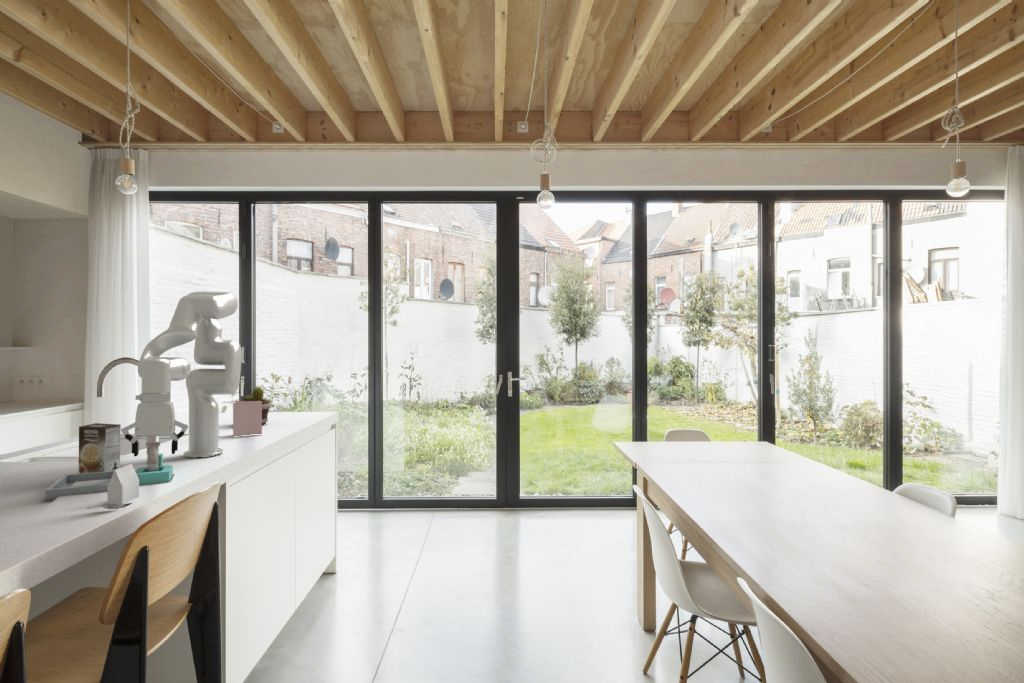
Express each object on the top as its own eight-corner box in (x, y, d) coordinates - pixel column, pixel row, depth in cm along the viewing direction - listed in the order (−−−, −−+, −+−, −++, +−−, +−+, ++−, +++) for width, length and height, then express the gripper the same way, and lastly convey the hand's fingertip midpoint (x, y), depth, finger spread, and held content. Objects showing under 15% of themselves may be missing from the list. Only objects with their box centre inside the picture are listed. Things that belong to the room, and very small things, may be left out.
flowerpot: (232, 424, 266) (233, 383, 266) (265, 421, 277) (265, 382, 276) (242, 428, 256) (242, 385, 255) (276, 425, 266) (276, 384, 266)
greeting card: (262, 434, 241) (262, 400, 241) (255, 437, 234) (255, 402, 234) (236, 434, 241) (236, 400, 241) (228, 437, 234) (228, 402, 233)
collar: (139, 474, 168) (139, 455, 168) (174, 471, 172) (174, 452, 172) (132, 485, 157) (132, 464, 157) (168, 481, 161) (169, 461, 161)
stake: (135, 481, 165) (135, 440, 165) (174, 477, 169) (174, 438, 169) (129, 490, 156) (129, 446, 156) (170, 486, 160) (170, 444, 160)
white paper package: (138, 501, 147) (139, 463, 146) (122, 509, 140) (122, 470, 140) (124, 501, 146) (124, 463, 146) (107, 509, 140) (107, 470, 139)
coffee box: (76, 478, 167) (76, 426, 167) (94, 473, 174) (94, 422, 174) (104, 479, 166) (104, 427, 166) (121, 474, 173) (121, 423, 173)
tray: (64, 485, 160) (64, 474, 160) (122, 480, 166) (122, 470, 166) (45, 501, 145) (45, 490, 145) (109, 495, 151) (109, 484, 151)
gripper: (119, 400, 161) (118, 459, 161) (187, 398, 168) (186, 454, 168) (124, 398, 168) (123, 454, 167) (189, 396, 175) (188, 450, 175)
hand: (155, 454), depth 168 cm, fingers open, 9 cm apart
